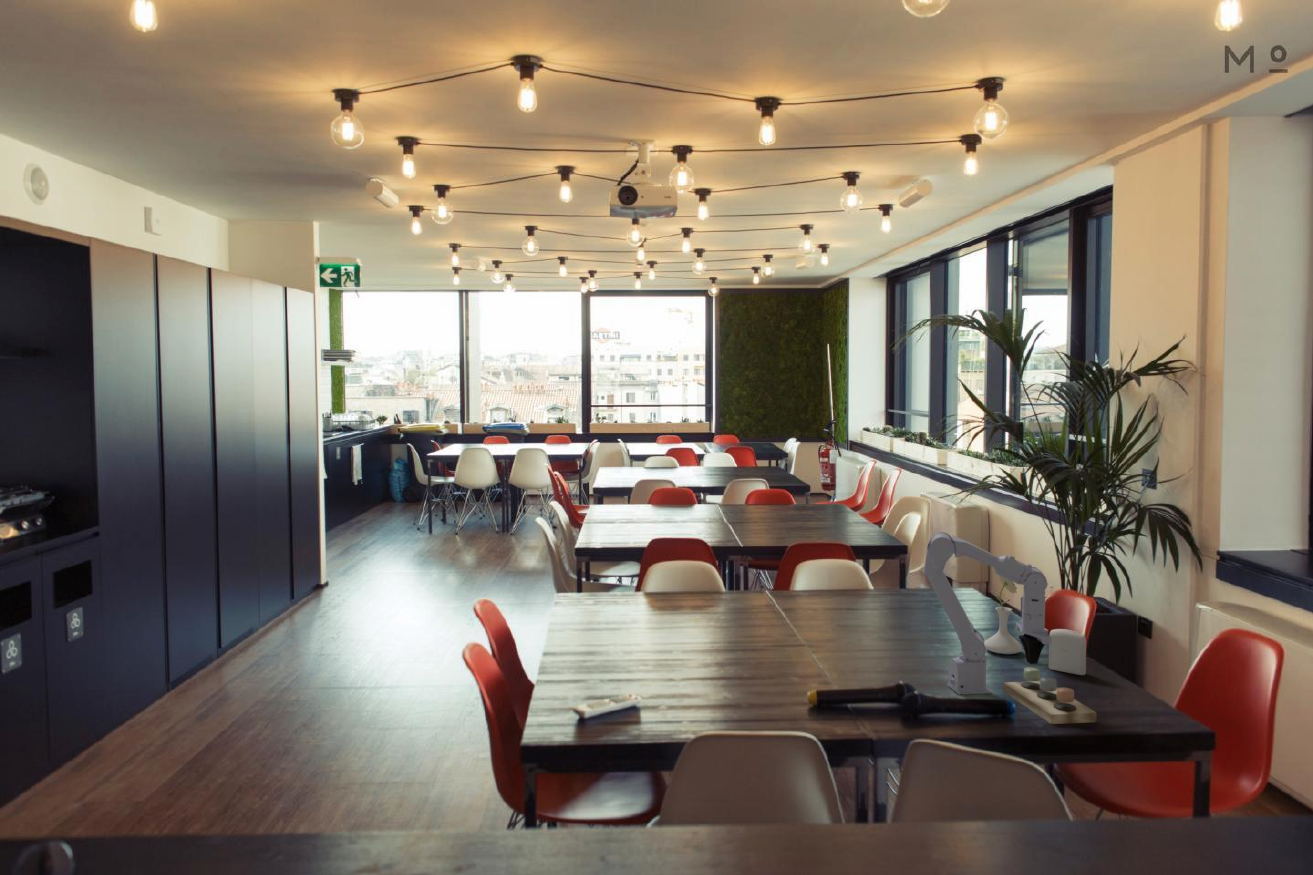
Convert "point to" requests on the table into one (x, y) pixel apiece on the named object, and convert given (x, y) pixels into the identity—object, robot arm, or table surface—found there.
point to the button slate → (1047, 684)
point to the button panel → (1048, 703)
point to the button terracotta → (1065, 694)
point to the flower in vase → (1003, 627)
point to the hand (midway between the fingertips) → (1032, 662)
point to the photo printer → (1067, 651)
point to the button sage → (1032, 674)
